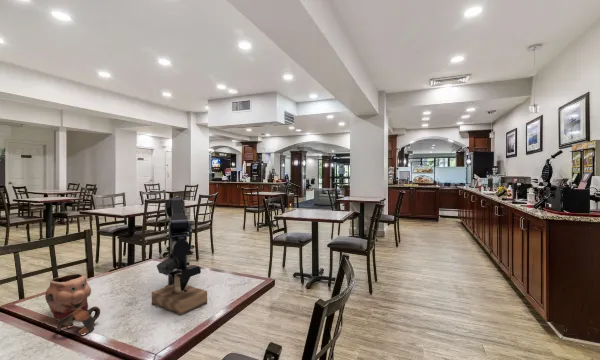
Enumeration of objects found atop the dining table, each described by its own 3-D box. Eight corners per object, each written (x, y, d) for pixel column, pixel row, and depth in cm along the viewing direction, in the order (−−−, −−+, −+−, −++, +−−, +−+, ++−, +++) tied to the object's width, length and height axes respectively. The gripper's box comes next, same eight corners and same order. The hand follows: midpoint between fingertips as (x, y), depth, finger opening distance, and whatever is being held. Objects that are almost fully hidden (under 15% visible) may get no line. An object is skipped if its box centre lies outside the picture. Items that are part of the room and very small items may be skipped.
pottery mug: (73, 343, 89) (59, 321, 89) (61, 349, 94) (47, 327, 94) (111, 317, 100) (98, 296, 100) (98, 323, 104) (85, 303, 104)
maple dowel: (172, 297, 116) (172, 275, 116) (180, 294, 119) (180, 272, 119) (178, 299, 114) (178, 276, 114) (186, 296, 117) (186, 274, 117)
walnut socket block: (151, 304, 116) (151, 291, 116) (178, 294, 126) (178, 282, 126) (180, 315, 106) (180, 301, 106) (207, 303, 117) (207, 291, 117)
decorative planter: (32, 316, 106) (31, 278, 106) (70, 303, 117) (69, 268, 117) (65, 328, 98) (64, 286, 98) (102, 312, 109) (102, 275, 109)
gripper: (145, 251, 114) (146, 291, 114) (176, 258, 104) (176, 302, 105) (171, 245, 124) (171, 282, 124) (201, 251, 114) (201, 291, 114)
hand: (179, 289), depth 116 cm, fingers closed on maple dowel, 3 cm apart
